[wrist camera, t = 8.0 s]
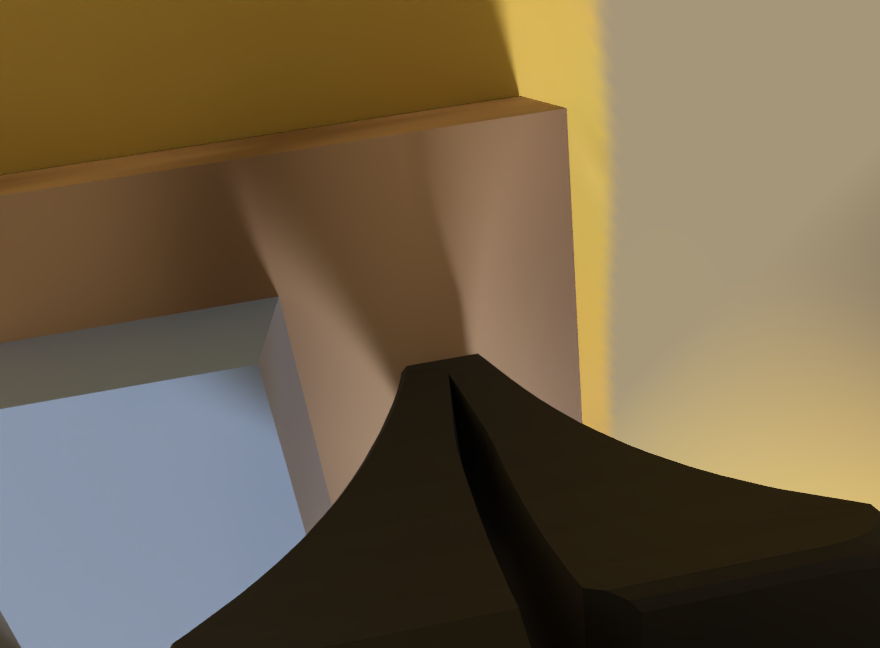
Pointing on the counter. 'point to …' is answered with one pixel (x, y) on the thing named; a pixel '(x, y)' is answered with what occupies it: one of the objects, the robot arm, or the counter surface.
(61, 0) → the counter surface
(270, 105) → the counter surface
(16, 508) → the blue-gray block
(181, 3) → the counter surface
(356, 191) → the walnut board
